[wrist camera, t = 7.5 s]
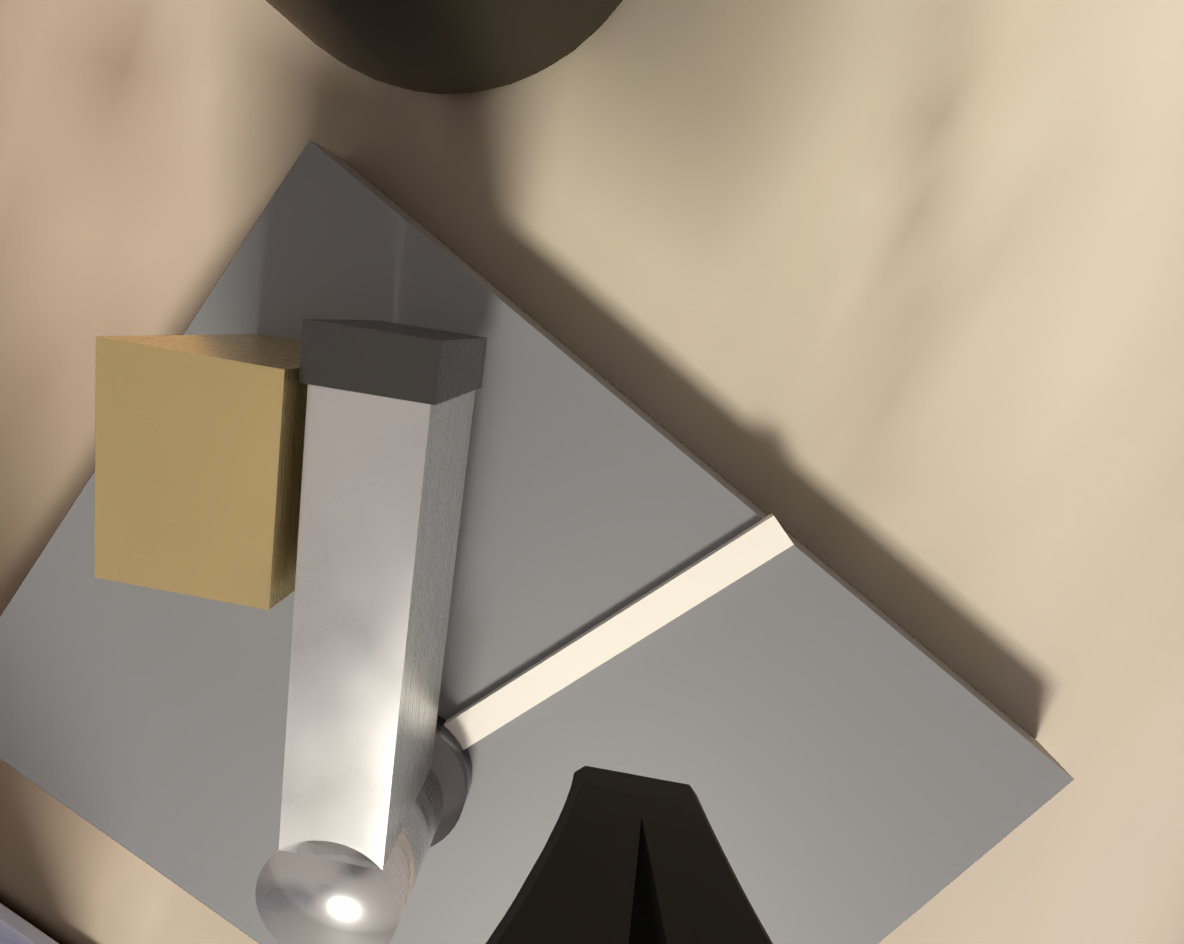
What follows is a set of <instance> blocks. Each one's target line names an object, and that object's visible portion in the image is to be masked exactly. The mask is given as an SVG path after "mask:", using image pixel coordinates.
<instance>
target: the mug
mask: <svg viewBox="0 0 1184 944" xmlns="http://www.w3.org/2000/svg"><path fill="white" fill-rule="evenodd" d="M266 1H267V2H268V3H269V4H271V5H272V6H273V7H274V8H275V9H276V10H277V11H279V12H280V13H281V14H282V15H283V16H284V17H285V18H287V19H288V20H289V21H290V22H291V23H292V24H293V25H295V26H296V27H297V28H298V29H299V30H300V31H301V32H303V33H304V34H305V35H306V36H307V37H308V38H310V39H311V40H312V41H313V42H314V43H315V44H317V45H318V46H319V47H321V48H322V49H324V50H325V51H326V52H328V53H329V54H331V55H332V56H333V57H335V58H336V59H338V60H339V61H341V62H342V63H344V64H346V65H347V66H349V67H351V68H353V69H355V70H357V71H359V72H361V73H363V74H365V75H367V76H369V77H371V78H373V79H375V80H378V81H381V82H384V83H388V84H391V85H394V86H398V87H401V88H405V89H410V90H415V91H423V92H431V93H439V94H450V93H469V92H477V91H483V90H488V89H492V88H496V87H501V86H505V85H509V84H512V83H514V82H517V81H519V80H521V79H524V78H526V77H529V76H531V75H533V74H536V73H538V72H540V71H541V70H543V69H545V68H547V67H549V66H550V65H552V64H554V63H555V62H557V61H558V60H560V59H562V58H563V57H565V56H566V55H568V54H569V53H571V52H573V51H574V50H575V49H576V48H577V47H578V46H579V45H581V44H582V43H583V42H584V41H585V40H586V39H587V38H588V37H590V36H591V35H592V34H593V33H594V32H595V31H596V30H597V29H598V28H599V27H600V26H601V25H602V24H603V23H604V22H605V21H606V20H607V19H608V17H609V16H610V15H611V14H612V12H613V11H614V10H615V9H616V8H617V6H618V5H619V4H620V3H621V2H622V0H266Z"/></svg>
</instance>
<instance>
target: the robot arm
mask: <svg viewBox="0 0 1184 944" xmlns="http://www.w3.org/2000/svg"><path fill="white" fill-rule="evenodd" d="M0 944H59V943H58V942H56V941H55V940H53V939H52V938H50V937H49V936H47V935H46V934H45V933H43V932H42V931H40V930H39V929H37V928H36V927H34V926H33V925H32V924H30V923H29V922H27V921H26V920H24V919H23V918H21V917H20V916H19V915H17V914H16V913H14V912H13V911H11V910H10V909H8V908H7V907H6V906H4V905H3V904H1V903H0ZM486 944H773V943H772V941H771V939H770V937H769V936H768V934H767V932H766V930H765V929H764V927H763V925H762V923H761V922H760V920H759V918H758V916H757V914H756V913H755V911H754V909H753V907H752V905H751V903H750V902H749V900H748V898H747V896H746V894H745V892H744V890H743V889H742V887H741V885H740V883H739V881H738V879H737V877H736V875H735V873H734V871H733V869H732V867H731V865H730V863H729V861H728V859H727V857H726V855H725V853H724V851H723V849H722V847H721V845H720V843H719V841H718V839H717V837H716V835H715V833H714V831H713V829H712V827H711V825H710V823H709V821H708V818H707V816H706V814H705V812H704V810H703V808H702V805H701V803H700V801H699V799H698V797H697V795H696V793H695V792H694V790H693V789H692V787H691V786H690V785H689V784H683V783H678V782H672V781H667V780H661V779H656V778H650V777H645V776H640V775H634V774H629V773H623V772H618V771H612V770H607V769H601V768H596V767H590V766H584V767H582V768H581V769H579V770H577V771H576V772H574V775H573V780H572V784H571V788H570V791H569V793H568V796H567V799H566V802H565V804H564V807H563V809H562V811H561V814H560V816H559V818H558V820H557V822H556V824H555V826H554V828H553V830H552V833H551V835H550V837H549V839H548V841H547V843H546V845H545V847H544V848H543V850H542V852H541V854H540V856H539V857H538V859H537V861H536V863H535V864H534V866H533V868H532V870H531V871H530V873H529V875H528V877H527V878H526V880H525V882H524V883H523V885H522V887H521V889H520V890H519V892H518V894H517V896H516V897H515V899H514V901H513V902H512V904H511V906H510V907H509V909H508V910H507V912H506V914H505V915H504V917H503V918H502V920H501V921H500V923H499V924H498V926H497V927H496V929H495V930H494V932H493V933H492V935H491V936H490V938H489V939H488V941H487V942H486Z"/></svg>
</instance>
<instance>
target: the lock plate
mask: <svg viewBox="0 0 1184 944" xmlns="http://www.w3.org/2000/svg"><path fill="white" fill-rule="evenodd" d="M302 319H341V320H380V321H386V322H392V323H399V324H405V325H411V326H417V327H424V328H430V329H436V330H442V331H449V332H455V333H461V334H467V335H474V336H480V337H486V338H487V347H486V355H485V363H484V372H483V380H482V388H479V389H476V390H475V397H474V405H473V414H472V423H471V431H470V440H469V448H468V457H467V465H466V474H465V482H464V491H463V500H462V508H461V517H460V525H459V534H458V542H457V551H456V560H455V568H454V577H453V585H452V594H451V602H450V611H449V619H448V628H447V637H446V645H445V654H444V662H443V671H442V679H441V688H440V696H439V705H438V714H437V715H439V716H440V717H442V718H443V719H444V720H446V721H445V723H444V726H445V727H446V728H447V729H448V730H449V731H450V732H451V733H452V734H453V735H454V736H455V738H456V739H457V740H458V742H459V743H460V745H461V746H462V748H463V750H465V749H466V748H467V749H468V752H469V755H470V759H471V763H472V783H471V787H470V791H469V794H468V796H467V799H466V802H465V804H464V807H463V810H462V813H461V815H460V818H459V820H458V822H457V824H456V825H455V827H454V828H453V830H452V831H451V832H450V833H449V834H448V835H447V836H446V837H445V838H444V839H443V840H441V841H440V842H439V843H437V844H436V845H434V846H432V847H430V848H429V850H428V852H427V855H426V857H425V860H424V862H423V865H422V867H421V869H420V872H419V874H418V877H417V879H416V882H415V884H414V887H413V889H412V892H411V894H410V897H409V899H408V902H407V904H406V907H405V909H404V911H403V914H402V916H401V919H400V921H399V924H398V926H397V929H396V931H395V934H394V935H393V937H392V939H391V941H390V942H389V943H388V944H486V942H487V941H488V939H489V938H490V936H491V935H492V933H493V932H494V930H495V929H496V927H497V926H498V924H499V923H500V921H501V920H502V918H503V917H504V915H505V914H506V912H507V910H508V909H509V907H510V906H511V904H512V902H513V901H514V899H515V897H516V896H517V894H518V892H519V890H520V889H521V887H522V885H523V883H524V882H525V880H526V878H527V877H528V875H529V873H530V871H531V870H532V868H533V866H534V864H535V863H536V861H537V859H538V857H539V856H540V854H541V852H542V850H543V848H544V847H545V845H546V843H547V841H548V839H549V837H550V835H551V833H552V830H553V828H554V826H555V824H556V822H557V820H558V818H559V816H560V814H561V811H562V809H563V807H564V804H565V802H566V799H567V796H568V793H569V791H570V788H571V784H572V780H573V775H574V772H576V771H577V770H579V769H581V768H582V767H584V766H590V767H596V768H601V769H607V770H612V771H618V772H623V773H629V774H634V775H640V776H645V777H650V778H656V779H661V780H667V781H672V782H678V783H683V784H689V785H690V786H691V787H692V789H693V790H694V792H695V793H696V795H697V797H698V799H699V801H700V803H701V805H702V808H703V810H704V812H705V814H706V816H707V818H708V821H709V823H710V825H711V827H712V829H713V831H714V833H715V835H716V837H717V839H718V841H719V843H720V845H721V847H722V849H723V851H724V853H725V855H726V857H727V859H728V861H729V863H730V865H731V867H732V869H733V871H734V873H735V875H736V877H737V879H738V881H739V883H740V885H741V887H742V889H743V890H744V892H745V894H746V896H747V898H748V900H749V902H750V903H751V905H752V907H753V909H754V911H755V913H756V914H757V916H758V918H759V920H760V922H761V923H762V925H763V927H764V929H765V930H766V932H767V934H768V936H769V937H770V939H771V941H772V943H773V944H878V943H879V942H881V941H882V940H883V939H884V938H885V937H887V936H888V935H889V934H890V933H891V932H893V931H894V930H895V929H896V928H897V927H899V926H900V925H901V924H902V923H903V922H905V921H906V920H907V919H908V918H909V917H910V916H912V915H913V914H914V913H915V912H916V911H918V910H919V909H920V908H921V907H922V906H924V905H925V904H926V903H927V902H928V901H930V900H931V899H932V898H933V897H934V896H936V895H937V894H938V893H939V892H940V891H941V890H943V889H944V888H945V887H946V886H947V885H949V884H950V883H951V882H952V881H953V880H955V879H956V878H957V877H958V876H959V875H961V874H962V873H963V872H964V871H965V870H967V869H968V868H969V867H970V866H971V865H972V864H974V863H975V862H976V861H977V860H978V859H980V858H981V857H982V856H983V855H984V854H986V853H987V852H988V851H989V850H990V849H992V848H993V847H994V846H995V845H996V844H998V843H999V842H1000V841H1001V840H1002V839H1003V838H1005V837H1006V836H1007V835H1008V834H1009V833H1011V832H1012V831H1013V830H1014V829H1015V828H1017V827H1018V826H1019V825H1020V824H1021V823H1023V822H1024V821H1025V820H1026V819H1027V818H1028V817H1030V816H1031V815H1032V814H1033V813H1034V812H1036V811H1037V810H1038V809H1039V808H1040V807H1042V806H1043V805H1044V804H1045V803H1046V802H1048V801H1049V800H1050V799H1051V798H1052V797H1054V796H1055V795H1056V794H1057V793H1058V792H1059V791H1061V790H1062V789H1063V788H1064V787H1065V786H1067V785H1068V784H1069V783H1070V782H1071V781H1073V780H1074V779H1073V778H1072V777H1071V776H1070V775H1069V774H1068V773H1067V772H1066V771H1065V769H1064V768H1063V767H1062V766H1061V765H1060V764H1059V763H1058V762H1057V761H1056V760H1055V759H1054V758H1053V757H1052V756H1051V755H1050V754H1049V753H1048V752H1047V751H1046V750H1045V749H1044V748H1043V747H1042V746H1041V744H1040V743H1039V742H1038V741H1037V740H1035V739H1034V738H1033V737H1032V736H1031V735H1029V734H1028V733H1027V732H1026V731H1025V730H1023V729H1022V728H1021V727H1020V726H1019V725H1018V724H1016V723H1015V722H1014V721H1013V720H1012V719H1010V718H1009V717H1008V716H1007V715H1006V714H1004V713H1003V712H1002V711H1001V710H1000V709H998V708H997V707H996V706H995V705H994V704H992V703H991V702H990V701H989V700H988V699H986V698H985V697H984V696H983V695H982V694H980V693H979V692H978V691H977V690H976V689H975V688H973V687H972V686H971V685H970V684H969V683H967V682H966V681H965V680H964V679H963V678H961V677H960V676H959V675H958V674H957V673H955V672H954V671H953V670H952V669H951V668H949V667H948V666H947V665H946V664H945V663H943V662H942V661H941V660H940V659H939V658H938V657H936V656H935V655H934V654H933V653H932V652H930V651H929V650H928V649H927V648H926V647H924V646H923V645H922V644H921V643H920V642H918V641H917V640H916V639H915V638H914V637H912V636H911V635H910V634H909V633H908V632H906V631H905V630H904V629H903V628H902V627H901V626H899V625H898V624H897V623H896V622H895V621H893V620H892V619H891V618H890V617H889V616H887V615H886V614H885V613H884V612H883V611H881V610H880V609H879V608H878V607H877V606H875V605H874V604H873V603H872V602H871V601H869V600H868V599H867V598H866V597H865V596H864V595H862V594H861V593H860V592H859V591H858V590H856V589H855V588H854V587H853V586H852V585H850V584H849V583H848V582H847V581H846V580H844V579H843V578H842V577H841V576H840V575H838V574H837V573H836V572H835V571H834V570H832V569H831V568H830V567H829V566H828V565H826V564H825V563H824V562H823V561H822V560H821V559H819V558H818V557H817V556H816V555H815V554H813V553H812V552H811V551H810V550H809V549H807V548H806V547H805V546H804V545H803V544H801V543H800V542H799V541H798V540H797V539H795V538H794V537H793V536H792V535H791V534H789V533H788V532H787V531H786V530H785V529H784V528H782V527H781V525H780V524H779V522H778V521H777V519H776V518H775V516H774V515H773V514H772V513H771V514H770V515H767V514H766V513H764V512H763V511H762V510H761V509H760V508H758V507H757V506H756V505H755V504H754V503H752V502H751V501H750V500H749V499H748V498H747V497H745V496H744V495H743V494H742V493H741V492H739V491H738V490H737V489H736V488H735V487H733V486H732V485H731V484H730V483H729V482H727V481H726V480H725V479H724V478H723V477H721V476H720V475H719V474H718V473H717V472H715V471H714V470H713V469H712V468H711V467H710V466H708V465H707V464H706V463H705V462H704V461H702V460H701V459H700V458H699V457H698V456H696V455H695V454H694V453H693V452H692V451H690V450H689V449H688V448H687V447H686V446H684V445H683V444H682V443H681V442H680V441H678V440H677V439H676V438H675V437H674V436H672V435H671V434H670V433H669V432H668V431H667V430H665V429H664V428H663V427H662V426H661V425H659V424H658V423H657V422H656V421H655V420H653V419H652V418H651V417H650V416H649V415H647V414H646V413H645V412H644V411H643V410H641V409H640V408H639V407H638V406H637V405H635V404H634V403H633V402H632V401H631V400H630V399H628V398H627V397H626V396H625V395H624V394H622V393H621V392H620V391H619V390H618V389H616V388H615V387H614V386H613V385H612V384H610V383H609V382H608V381H607V380H606V379H604V378H603V377H602V376H601V375H600V374H598V373H597V372H596V371H595V370H594V369H593V368H591V367H590V366H589V365H588V364H587V363H585V362H584V361H583V360H582V359H581V358H579V357H578V356H577V355H576V354H575V353H573V352H572V351H571V350H570V349H569V348H567V347H566V346H565V345H564V344H563V343H561V342H560V341H559V340H558V339H557V338H556V337H554V336H553V335H552V334H551V333H550V332H548V331H547V330H546V329H545V328H544V327H542V326H541V325H540V324H539V323H538V322H536V321H535V320H534V319H533V318H532V317H530V316H529V315H528V314H527V313H526V312H524V311H523V310H522V309H521V308H520V307H518V306H517V305H516V304H515V303H514V302H513V301H511V300H510V299H509V298H508V297H507V296H505V295H504V294H503V293H502V292H501V291H499V290H498V289H497V288H496V287H495V286H493V285H492V284H491V283H490V282H489V281H487V280H486V279H485V278H484V277H483V276H481V275H480V274H479V273H478V272H477V271H476V270H474V269H473V268H472V267H471V266H470V265H468V264H467V263H466V262H465V261H464V260H462V259H461V258H460V257H459V256H458V255H456V254H455V253H454V252H453V251H452V250H450V249H449V248H448V247H447V246H446V245H444V244H443V243H442V242H441V241H440V240H439V239H437V238H436V237H435V236H434V235H433V234H431V233H430V232H429V231H428V230H427V229H425V228H424V227H423V226H422V225H421V224H419V223H418V222H417V221H416V220H415V219H413V218H412V217H411V216H410V215H409V214H407V213H406V212H405V211H404V210H403V209H402V208H400V207H399V206H398V205H397V204H396V203H394V202H393V201H392V200H391V199H390V198H388V197H387V196H386V195H385V194H384V193H382V192H381V191H380V190H379V189H378V188H376V187H375V186H374V185H373V184H372V183H370V182H369V181H368V180H367V179H366V178H364V177H363V176H362V175H361V174H360V173H359V172H357V171H356V170H355V169H354V168H353V167H351V166H350V165H349V164H348V163H347V162H345V161H344V160H343V159H342V158H340V157H339V156H337V155H335V154H333V153H331V152H330V151H328V150H326V149H324V148H323V147H321V146H319V145H317V144H316V143H314V142H312V141H309V142H308V144H307V145H306V147H305V148H304V150H303V152H302V153H301V155H300V156H299V158H298V159H297V161H296V162H295V164H294V165H293V167H292V168H291V170H290V172H289V173H288V175H287V176H286V178H285V179H284V181H283V182H282V184H281V185H280V187H279V188H278V190H277V192H276V193H275V195H274V196H273V198H272V199H271V201H270V202H269V204H268V205H267V207H266V209H265V210H264V212H263V213H262V215H261V216H260V218H259V219H258V221H257V222H256V224H255V225H254V227H253V229H252V230H251V232H250V233H249V235H248V236H247V238H246V239H245V241H244V242H243V244H242V245H241V247H240V249H239V250H238V252H237V253H236V255H235V256H234V258H233V259H232V261H231V262H230V264H229V265H228V267H227V269H226V270H225V272H224V273H223V275H222V276H221V278H220V279H219V281H218V282H217V284H216V285H215V287H214V289H213V290H212V292H211V293H210V295H209V296H208V298H207V299H206V301H205V302H204V304H203V305H202V307H201V309H200V310H199V312H198V313H197V315H196V316H195V318H194V319H193V321H192V322H191V324H190V325H189V327H188V329H187V330H186V332H185V333H184V335H213V334H261V335H267V336H273V337H278V338H284V339H290V340H296V341H301V335H302ZM294 596H295V591H293V592H292V593H291V594H289V595H288V596H287V597H285V598H284V599H283V600H281V601H280V602H279V603H278V604H276V605H275V606H274V607H272V608H271V609H270V610H265V609H260V608H254V607H249V606H244V605H238V604H233V603H228V602H222V601H217V600H212V599H206V598H201V597H196V596H190V595H185V594H180V593H174V592H169V591H164V590H158V589H153V588H148V587H142V586H137V585H132V584H126V583H121V582H116V581H110V580H105V579H100V578H95V472H94V473H93V475H92V476H91V478H90V479H89V481H88V482H87V484H86V486H85V487H84V489H83V490H82V492H81V493H80V495H79V496H78V498H77V499H76V501H75V502H74V504H73V506H72V507H71V509H70V510H69V512H68V513H67V515H66V516H65V518H64V519H63V521H62V522H61V524H60V526H59V527H58V529H57V530H56V532H55V533H54V535H53V536H52V538H51V539H50V541H49V542H48V544H47V546H46V547H45V549H44V550H43V552H42V553H41V555H40V556H39V558H38V559H37V561H36V562H35V564H34V566H33V567H32V569H31V570H30V572H29V573H28V575H27V576H26V578H25V579H24V581H23V582H22V584H21V586H20V587H19V589H18V590H17V592H16V593H15V595H14V596H13V598H12V599H11V601H10V603H9V604H8V606H7V607H6V609H5V610H4V612H3V613H2V615H1V616H0V759H1V760H2V761H4V762H5V763H6V764H8V765H9V766H11V767H12V768H13V769H15V770H16V771H18V772H19V773H20V774H22V775H23V776H25V777H26V778H27V779H29V780H30V781H32V782H33V783H34V784H36V785H37V786H39V787H40V788H41V789H43V790H44V791H46V792H47V793H48V794H50V795H51V796H53V797H54V798H55V799H57V800H58V801H60V802H61V803H62V804H64V805H65V806H67V807H68V808H70V809H71V810H72V811H74V812H75V813H77V814H78V815H79V816H81V817H82V818H84V819H85V820H86V821H88V822H89V823H91V824H92V825H93V826H95V827H96V828H98V829H99V830H100V831H102V832H103V833H105V834H106V835H107V836H109V837H110V838H112V839H113V840H114V841H116V842H117V843H119V844H120V845H121V846H123V847H124V848H126V849H127V850H128V851H130V852H131V853H133V854H134V855H135V856H137V857H138V858H140V859H141V860H143V861H144V862H145V863H147V864H148V865H150V866H151V867H152V868H154V869H155V870H157V871H158V872H159V873H161V874H162V875H164V876H165V877H166V878H168V879H169V880H171V881H172V882H173V883H175V884H176V885H178V886H179V887H180V888H182V889H183V890H185V891H186V892H187V893H189V894H190V895H192V896H193V897H194V898H196V899H197V900H199V901H200V902H201V903H203V904H204V905H206V906H207V907H208V908H210V909H211V910H213V911H214V912H216V913H217V914H218V915H220V916H221V917H223V918H224V919H225V920H227V921H228V922H230V923H231V924H232V925H234V926H235V927H237V928H238V929H239V930H241V931H242V932H244V933H245V934H246V935H248V936H249V937H251V938H252V939H253V940H255V941H256V942H258V943H259V944H280V943H279V942H278V941H277V940H276V939H275V938H274V937H273V936H272V934H271V933H270V932H269V931H268V929H267V928H266V926H265V925H264V923H263V921H262V919H261V917H260V915H259V912H258V909H257V904H256V896H255V890H256V883H257V879H258V876H259V874H260V871H261V869H262V868H263V866H264V865H265V863H266V862H267V860H268V859H269V858H270V856H271V855H272V853H273V852H274V850H275V849H276V848H277V846H278V845H279V835H280V819H281V803H282V787H283V771H284V755H285V739H286V723H287V707H288V691H289V675H290V659H291V643H292V628H293V612H294Z"/></svg>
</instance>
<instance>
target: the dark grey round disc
mask: <svg viewBox="0 0 1184 944" xmlns="http://www.w3.org/2000/svg"><path fill="white" fill-rule="evenodd" d="M445 721H446V720H444V719H443V718H442V717H440V716H439V715H437V722H436V731H435V739H434V748H433V756H432V765H431V769H432V771H433V772H434V773H435V775H436V777H437V778H438V780H439V782H440V785H441V787H442V791H443V797H444V809H443V814H442V817H441V820H440V823H439V825H438V827H437V830H436V832H435V835H434V837H433V840H432V842H431V845H430V847H432V846H434V845H436V844H437V843H439V842H440V841H441V840H443V839H444V838H445V837H446V836H447V835H448V834H449V833H450V832H451V831H452V830H453V828H454V827H455V825H456V824H457V822H458V820H459V818H460V815H461V813H462V810H463V807H464V804H465V802H466V799H467V796H468V794H469V791H470V787H471V783H472V763H471V759H470V755H469V752H468V749H467V748H466V749H465V750H463V748H462V746H461V745H460V743H459V742H458V740H457V739H456V738H455V736H454V735H453V734H452V733H451V732H450V731H449V730H448V729H447V728H446V727H445V726H444V723H445ZM430 847H429V848H430Z"/></svg>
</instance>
